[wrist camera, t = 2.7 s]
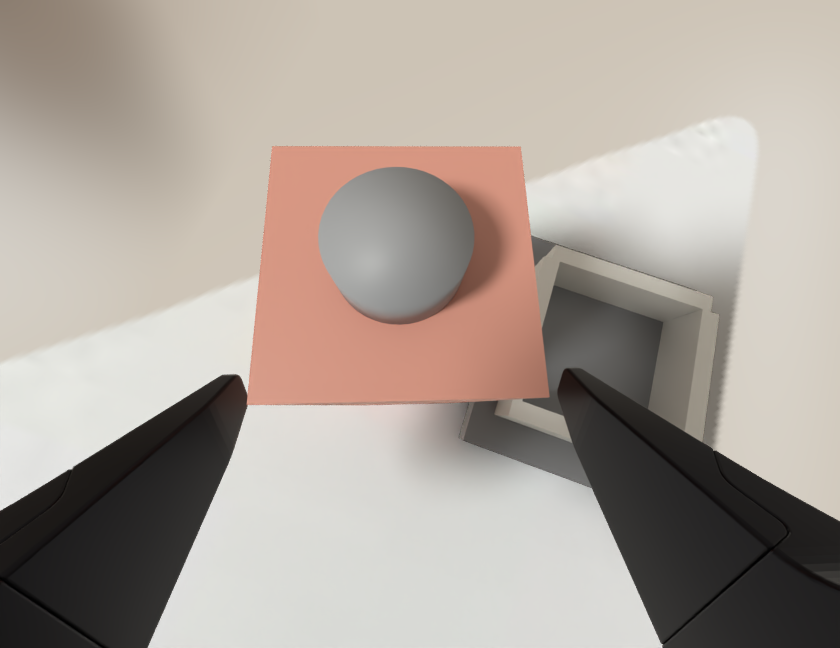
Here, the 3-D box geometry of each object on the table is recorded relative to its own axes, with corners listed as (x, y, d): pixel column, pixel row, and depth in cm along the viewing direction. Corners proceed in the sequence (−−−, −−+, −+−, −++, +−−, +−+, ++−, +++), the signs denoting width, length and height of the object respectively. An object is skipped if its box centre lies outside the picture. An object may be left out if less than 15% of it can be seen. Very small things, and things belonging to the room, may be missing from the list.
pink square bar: (452, 403, 18) (579, 395, 5) (361, 405, 18) (210, 404, 4) (448, 315, 19) (539, 102, 6) (363, 316, 19) (248, 101, 6)
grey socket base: (640, 504, 17) (708, 534, 13) (458, 437, 18) (472, 446, 14) (675, 298, 20) (740, 273, 16) (517, 246, 21) (543, 209, 17)
